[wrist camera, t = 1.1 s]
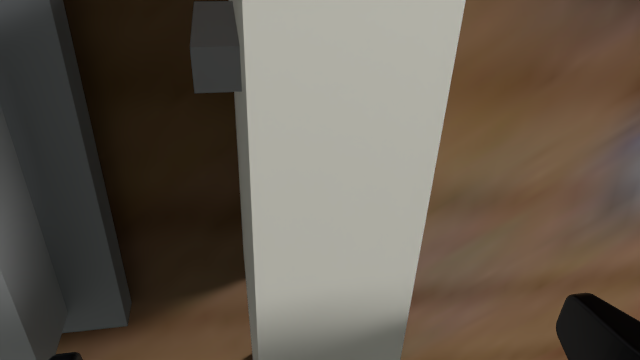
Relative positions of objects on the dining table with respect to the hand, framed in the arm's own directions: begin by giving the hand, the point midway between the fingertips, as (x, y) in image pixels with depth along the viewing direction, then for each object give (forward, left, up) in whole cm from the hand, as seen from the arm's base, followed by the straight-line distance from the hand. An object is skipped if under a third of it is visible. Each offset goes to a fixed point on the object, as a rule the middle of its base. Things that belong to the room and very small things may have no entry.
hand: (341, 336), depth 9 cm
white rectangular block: (0, 0, -10) cm, 10 cm away
